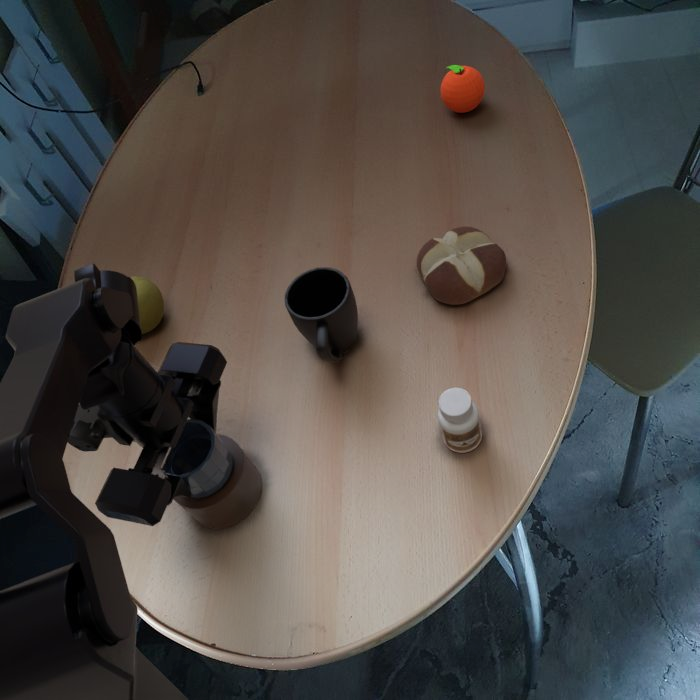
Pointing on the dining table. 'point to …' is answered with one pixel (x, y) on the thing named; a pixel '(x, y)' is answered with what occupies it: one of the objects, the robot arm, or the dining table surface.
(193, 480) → the blue cup
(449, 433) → the pill bottle
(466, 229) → the bread
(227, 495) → the stand
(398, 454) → the dining table surface
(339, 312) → the mug
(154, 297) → the apple
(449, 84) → the clementine
